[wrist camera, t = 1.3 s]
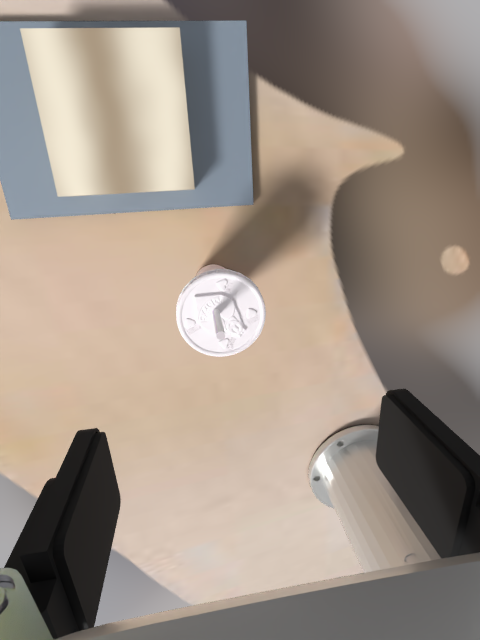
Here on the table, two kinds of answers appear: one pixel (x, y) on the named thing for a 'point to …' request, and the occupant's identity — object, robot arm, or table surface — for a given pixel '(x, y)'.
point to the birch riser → (112, 108)
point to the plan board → (203, 116)
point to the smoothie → (220, 311)
